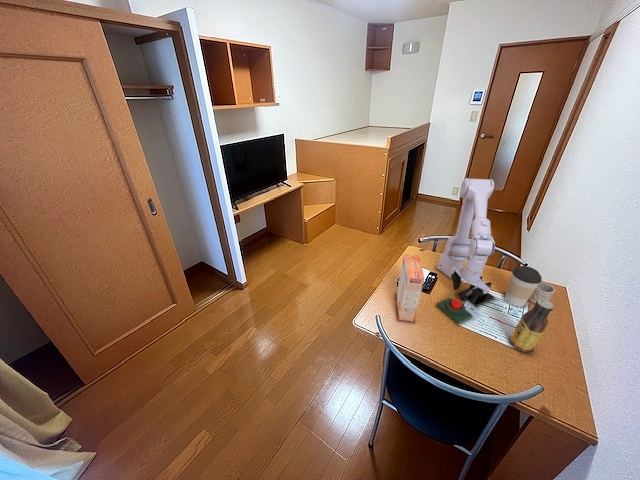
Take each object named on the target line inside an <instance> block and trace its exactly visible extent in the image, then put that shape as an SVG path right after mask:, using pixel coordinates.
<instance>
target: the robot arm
mask: <svg viewBox="0 0 640 480" xmlns="http://www.w3.org/2000/svg"><path fill="white" fill-rule="evenodd" d="M494 181H495V180H493V178H489V179H487V178H485V179H484V178H468V177H465V178H464V179H463V180H462V182H461V185H460V190H459V198H462V204H461V209H460V214H459V219H458V223H457V226H456V227H457V228H456V233H455V235H452V236H450V237H448V239H447V240H446V241H447V242H446V243H445V247H444V252H442V254H441V255H440V256H439V260H438V265H437V266H436V269H438V270H439V271H440V272H441V273H443V274H445V275H446V276H447V277H448V278H450V279H451V280H452V284H453V285H452V287H453V288H452V289H453V291H457V290H459V289H460V287H461V285H462V284H461V283H464V284H469V285H470V286H471V285H473V286H476V287H477V288H475V289H473V290H472V297H471V299H470V302H471V303H470V302H469V303H470V304H472V303H473V302H475V301H476V300H477V298H478V297H479V296H481V295H482V294H483V293H484V294H486V293H489V292H490V291H491V287H490V288H489V287H488V286H487V285H486V284H485V283H484V282H485V281H484V280H483V279H482V280H483V281H484V282H483V281H482V280H481V279H480V277H482V274H483V271H484V269H485V266H486V264H487V261H488V258H489V257H492V256H493V255H494V253H495V251H496V250H495V249H496V242H495V240H494V237H493V236H492V231H491V230H492V229H491V228H492V227H491V220H490V219H488V218H487V215H488V201H489V200H488V199H489V198H490V197H491V195H492V194H493V192H494V189H495V182H494ZM470 231H471V238H469V237H470ZM465 261H466V262H465ZM464 264H465V265H464ZM463 267H464V268H463Z"/></svg>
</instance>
